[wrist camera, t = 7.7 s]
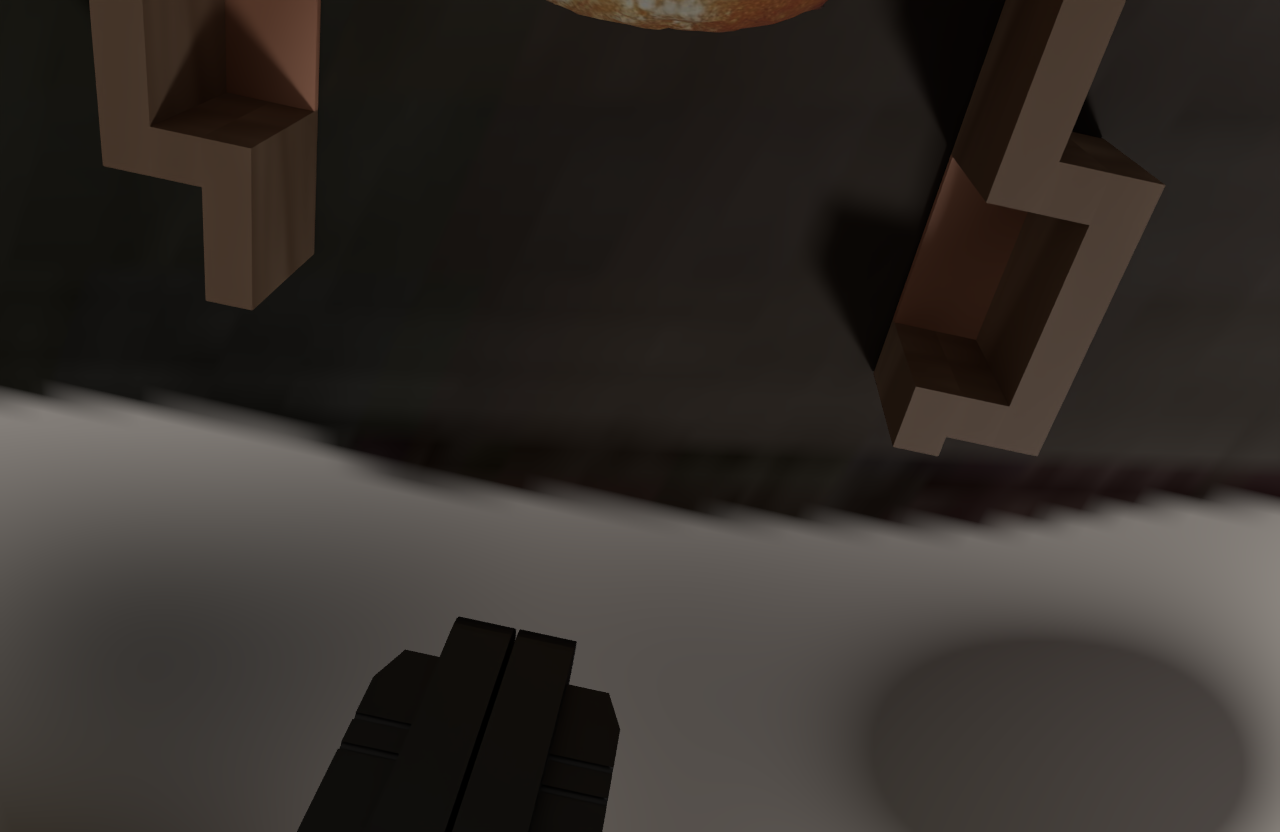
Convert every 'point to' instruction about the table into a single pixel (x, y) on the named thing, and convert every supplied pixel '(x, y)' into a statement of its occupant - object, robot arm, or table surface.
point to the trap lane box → (934, 290)
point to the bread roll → (692, 12)
